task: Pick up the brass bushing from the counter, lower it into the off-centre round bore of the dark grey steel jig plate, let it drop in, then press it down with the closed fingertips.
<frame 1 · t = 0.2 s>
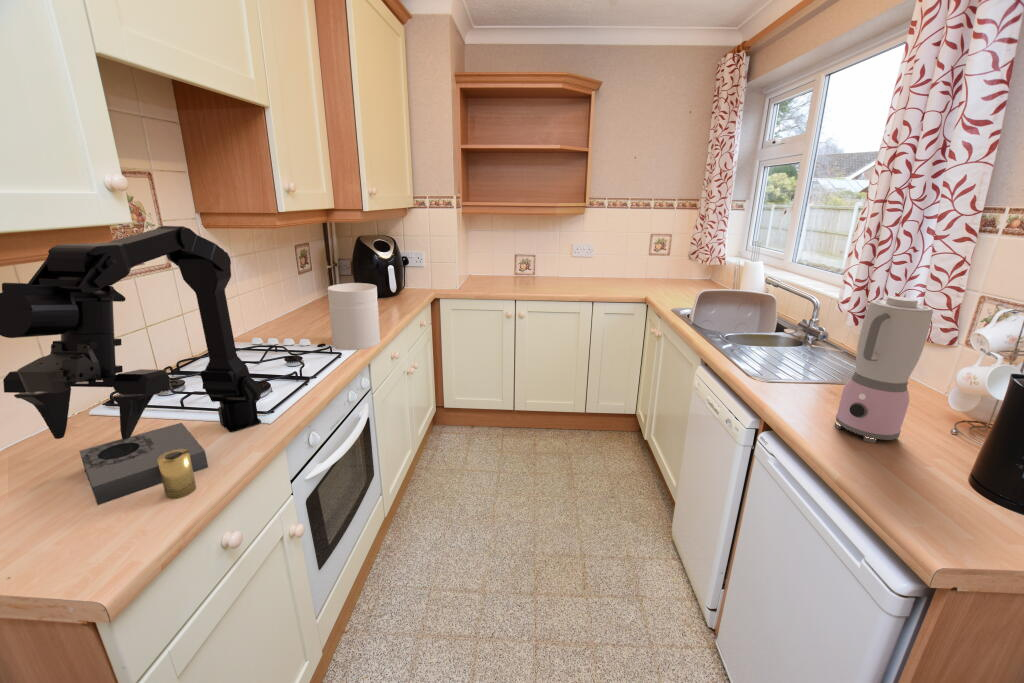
hand: (93, 438, 68), 15 cm above the counter, tool pointing down, fingers open, 9 cm apart
canister: (356, 343, 163), on the counter
blender: (860, 433, 108), on the counter
jig: (146, 467, 87), on the counter
bushing: (181, 491, 80), on the counter
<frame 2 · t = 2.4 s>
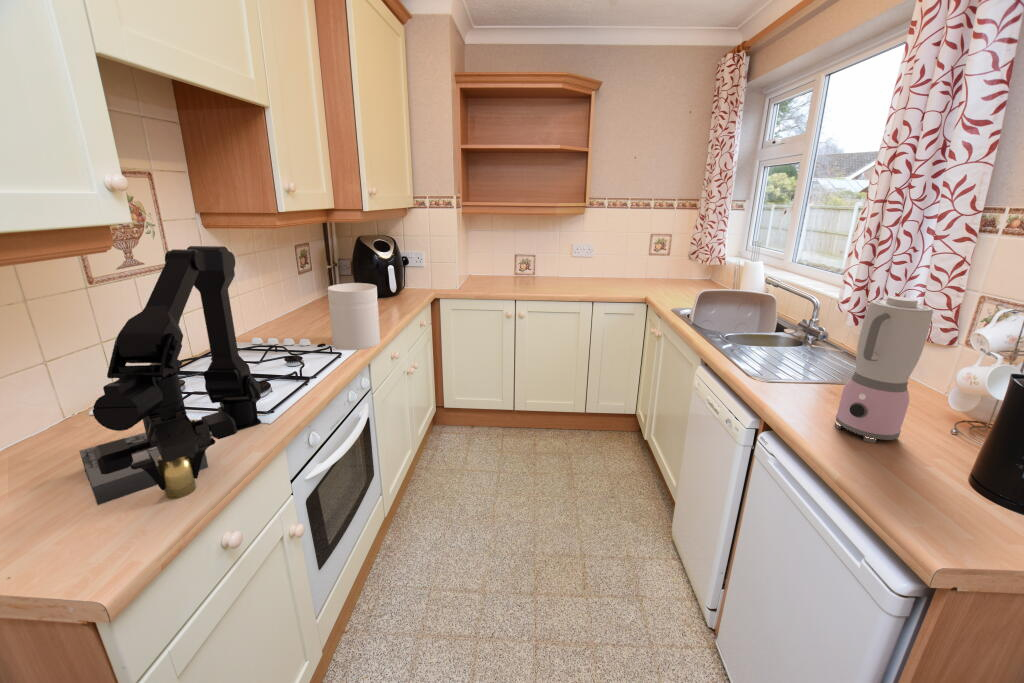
hand: (179, 483, 80), 2 cm above the counter, tool pointing down, fingers closed on bushing, 4 cm apart
bushing: (181, 490, 80), on the counter, touching gripper
everything else where it was.
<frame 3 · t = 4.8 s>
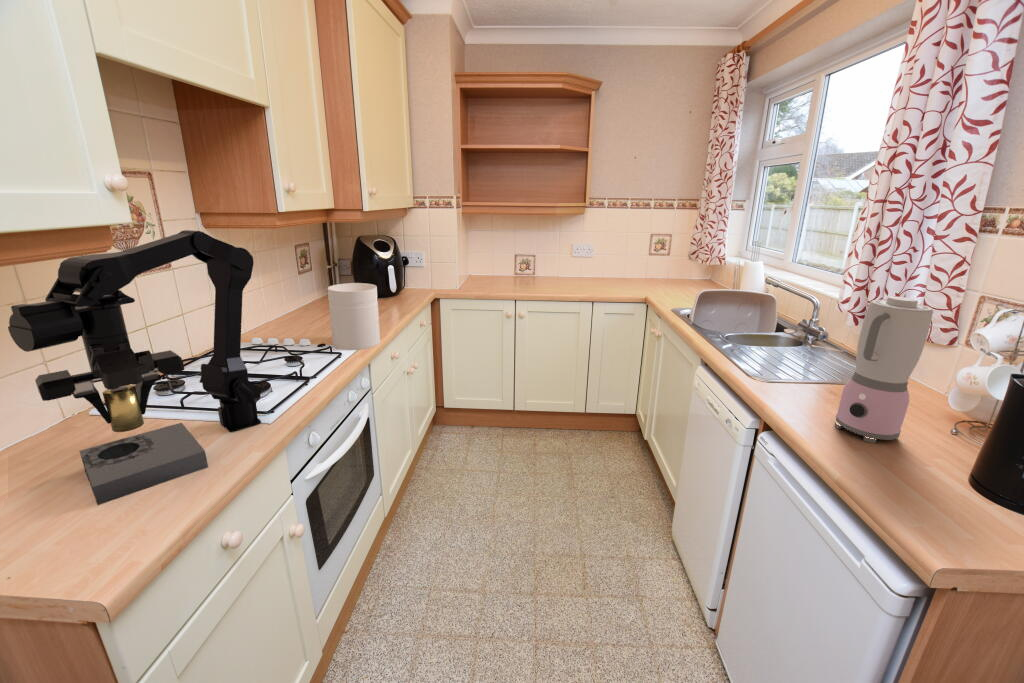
hand: (126, 418, 81), 11 cm above the counter, tool pointing down, fingers closed on bushing, 4 cm apart
bushing: (128, 426, 82), point 10 cm above the counter, touching gripper
everything else where it was.
when the fingers open (4 cm above the counter, at t = 7.3 s): bushing drops 2 cm, resting in jig.
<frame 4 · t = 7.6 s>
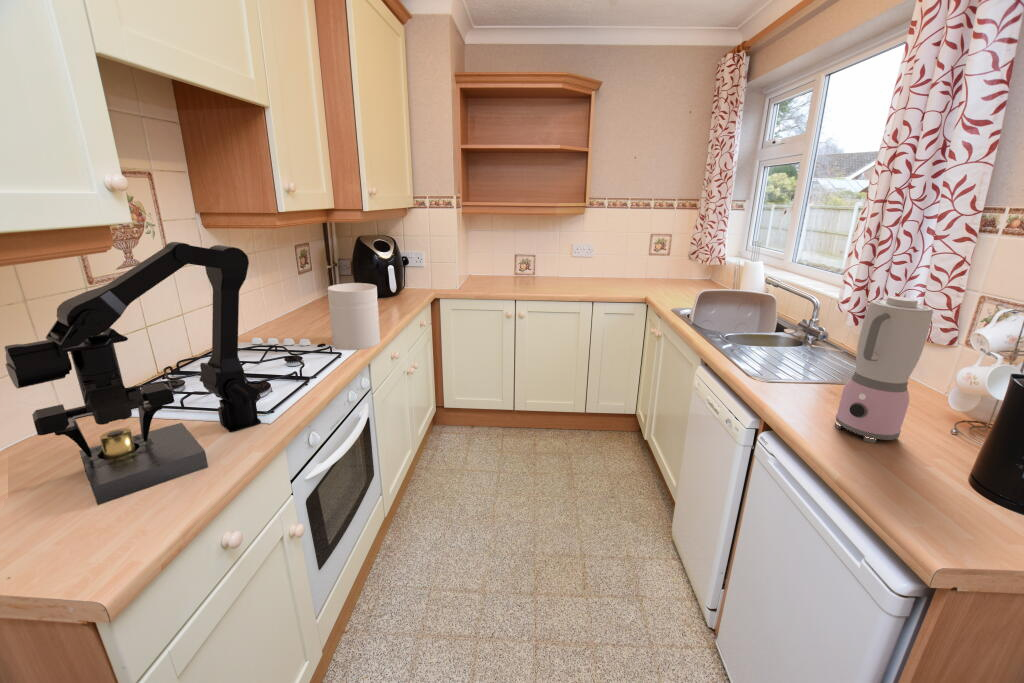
hand: (118, 448, 85), 4 cm above the counter, tool pointing down, fingers open, 8 cm apart
bushing: (123, 467, 87), resting in jig
everything else where it was.
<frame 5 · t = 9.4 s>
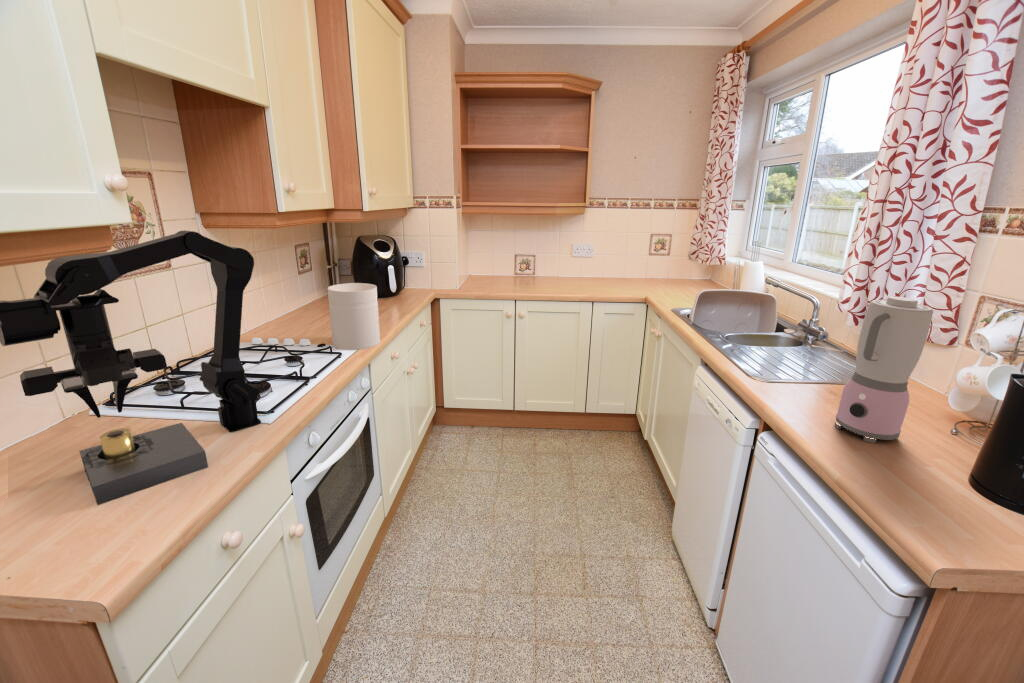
hand: (109, 414, 83), 11 cm above the counter, tool pointing down, fingers open, 3 cm apart
nothing on the counter moved.
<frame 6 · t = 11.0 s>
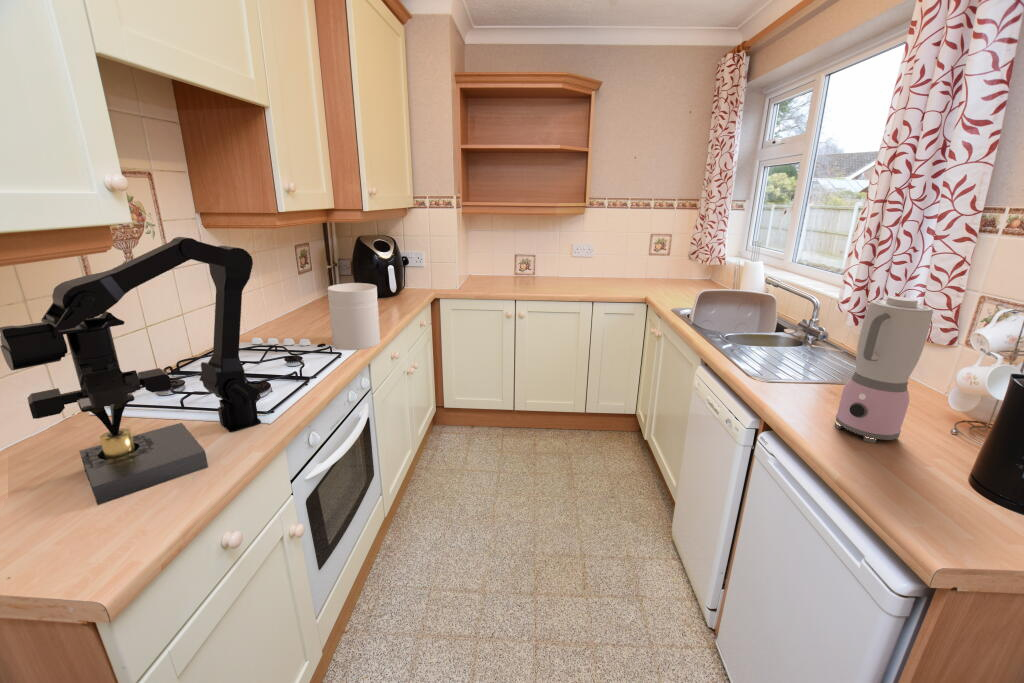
hand: (115, 433, 84), 7 cm above the counter, tool pointing down, fingers closed, pressing on bushing
bushing: (124, 467, 87), resting in jig, touching gripper
everything else where it was.
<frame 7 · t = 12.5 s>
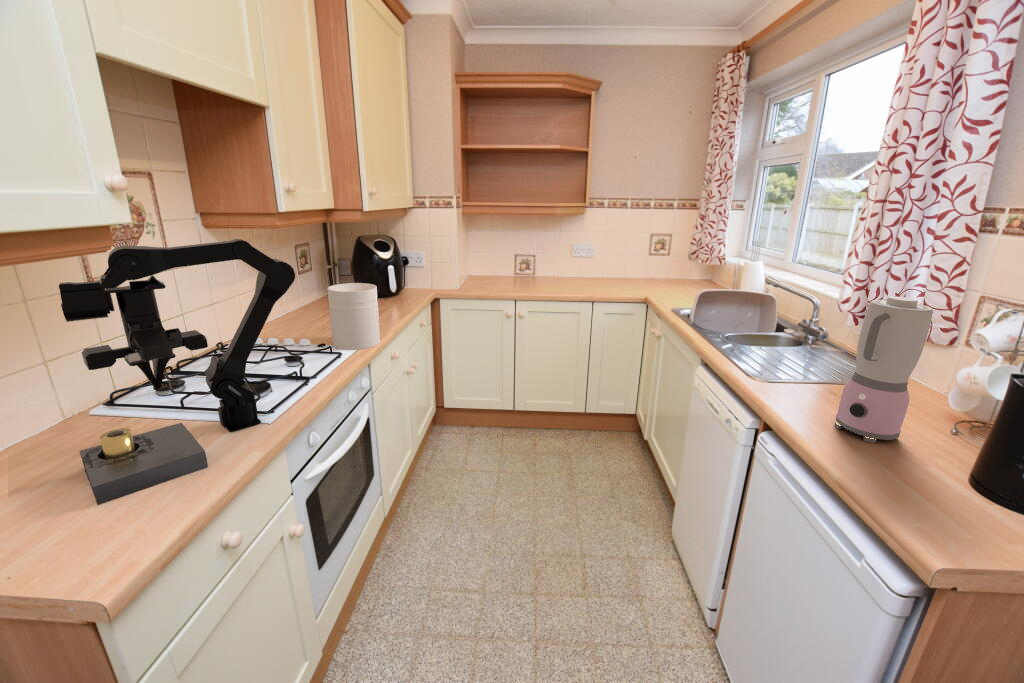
hand: (157, 388, 92), 12 cm above the counter, tool pointing down, fingers closed
bushing: (123, 467, 87), resting in jig
everything else where it was.
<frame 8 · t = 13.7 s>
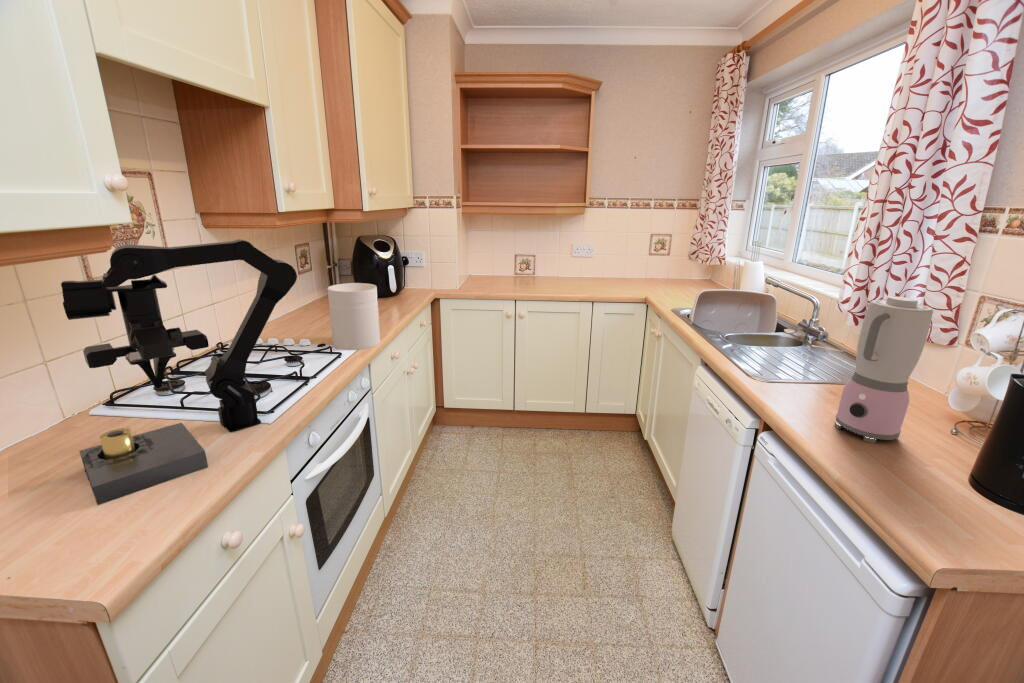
hand: (158, 387, 92), 12 cm above the counter, tool pointing down, fingers closed
nothing on the counter moved.
at the end: bushing 0.1 cm from the target spot on the jig, point 0.0 cm above the jig's base; bushing tilted 0°; the gripper is holding nothing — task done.
